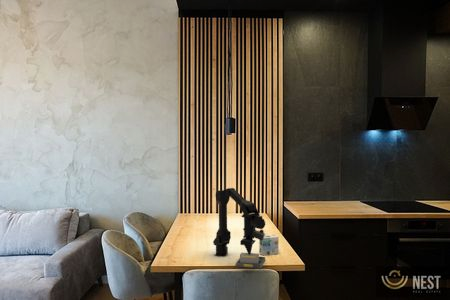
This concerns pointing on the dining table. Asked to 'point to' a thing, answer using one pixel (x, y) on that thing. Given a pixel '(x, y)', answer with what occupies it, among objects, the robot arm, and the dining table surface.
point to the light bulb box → (269, 245)
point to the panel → (249, 258)
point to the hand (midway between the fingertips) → (249, 254)
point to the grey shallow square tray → (261, 262)
